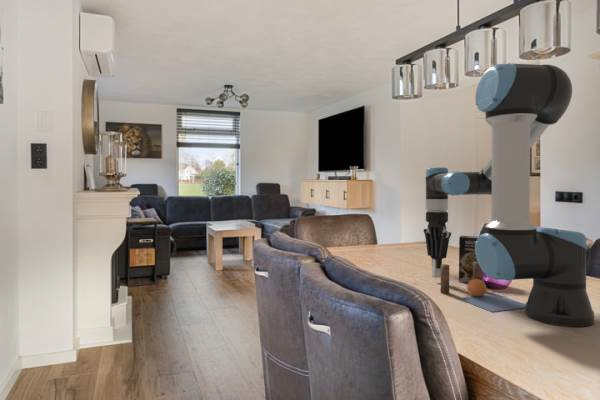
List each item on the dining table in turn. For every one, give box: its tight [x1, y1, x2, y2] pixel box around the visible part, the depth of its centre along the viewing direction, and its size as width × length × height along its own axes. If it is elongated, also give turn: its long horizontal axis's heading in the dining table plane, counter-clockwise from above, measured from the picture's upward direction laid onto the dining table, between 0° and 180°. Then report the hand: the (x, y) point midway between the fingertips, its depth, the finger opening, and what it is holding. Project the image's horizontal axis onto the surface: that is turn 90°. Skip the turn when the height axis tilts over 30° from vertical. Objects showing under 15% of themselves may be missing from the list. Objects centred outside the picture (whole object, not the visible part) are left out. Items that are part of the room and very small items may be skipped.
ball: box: [466, 279, 487, 297], centre depth 126 cm, size 6×6×6 cm
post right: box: [473, 262, 482, 280], centre depth 134 cm, size 3×3×9 cm
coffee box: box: [458, 235, 483, 284], centre depth 146 cm, size 9×6×16 cm
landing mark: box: [457, 293, 526, 313], centre depth 119 cm, size 14×14×1 cm
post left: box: [440, 263, 450, 295], centre depth 130 cm, size 3×3×9 cm
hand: (436, 276), depth 145 cm, fingers closed
